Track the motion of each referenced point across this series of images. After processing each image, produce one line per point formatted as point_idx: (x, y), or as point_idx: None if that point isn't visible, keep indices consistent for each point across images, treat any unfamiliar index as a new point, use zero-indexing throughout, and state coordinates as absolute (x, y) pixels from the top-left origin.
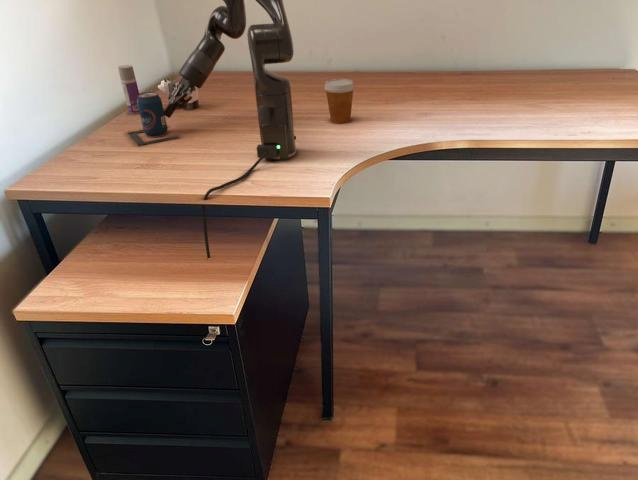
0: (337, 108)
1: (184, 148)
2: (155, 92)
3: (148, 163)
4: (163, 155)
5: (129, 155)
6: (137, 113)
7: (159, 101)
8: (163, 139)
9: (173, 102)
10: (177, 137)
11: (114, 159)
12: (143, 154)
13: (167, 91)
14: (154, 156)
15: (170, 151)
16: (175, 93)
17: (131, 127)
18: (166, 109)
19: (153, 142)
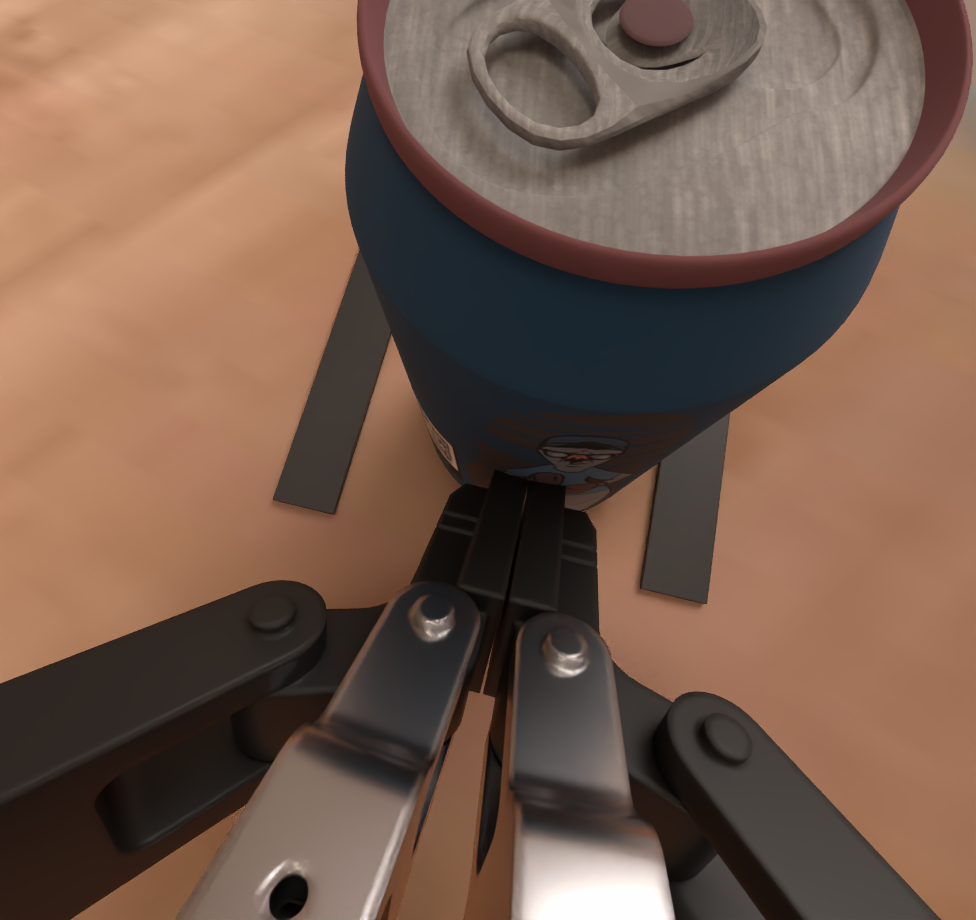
0: None
1: (18, 393)
2: (742, 254)
3: (21, 98)
4: (49, 220)
5: (262, 87)
6: None
7: (376, 280)
8: (343, 380)
9: (300, 606)
10: (284, 489)
11: (279, 9)
12: (196, 147)
13: None
14: (92, 174)
15: (68, 290)
16: (282, 869)
17: (889, 364)
18: (487, 507)
19: (345, 293)
